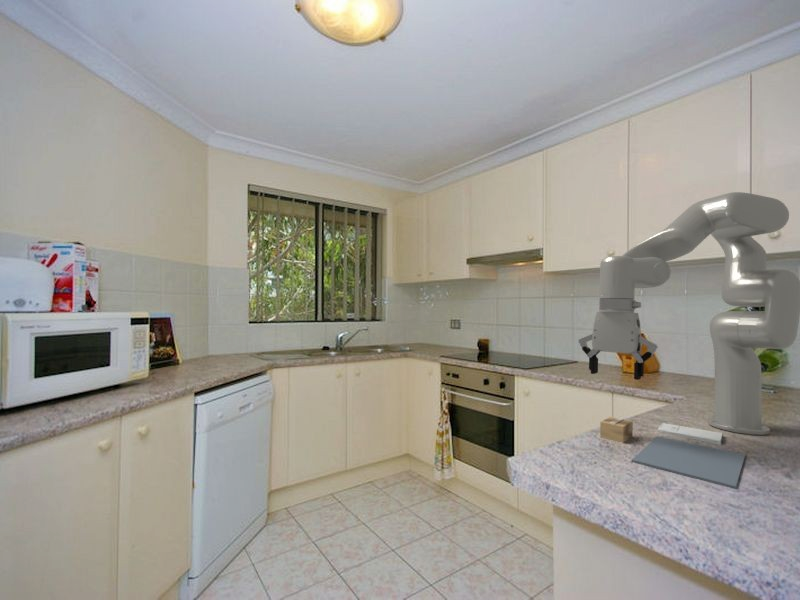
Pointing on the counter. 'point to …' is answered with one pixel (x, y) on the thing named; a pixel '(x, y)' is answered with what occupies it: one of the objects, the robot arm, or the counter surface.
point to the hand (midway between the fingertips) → (615, 376)
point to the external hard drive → (691, 433)
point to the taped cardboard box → (616, 429)
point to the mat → (692, 461)
